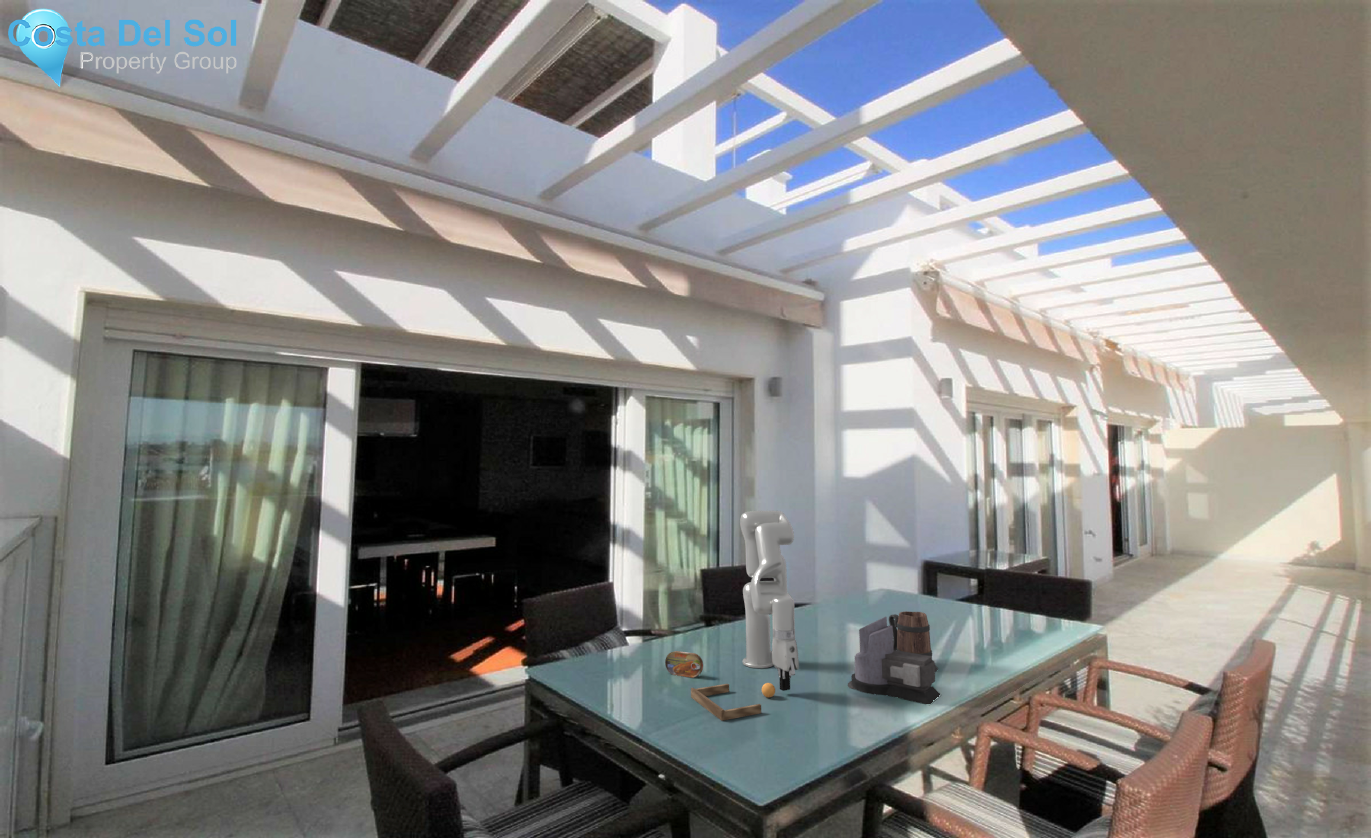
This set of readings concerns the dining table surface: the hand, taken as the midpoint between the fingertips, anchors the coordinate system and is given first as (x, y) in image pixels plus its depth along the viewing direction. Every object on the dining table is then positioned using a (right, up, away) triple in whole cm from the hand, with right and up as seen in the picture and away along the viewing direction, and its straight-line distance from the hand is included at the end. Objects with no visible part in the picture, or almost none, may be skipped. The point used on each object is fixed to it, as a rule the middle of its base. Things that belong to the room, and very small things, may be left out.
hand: (785, 689), depth 210 cm
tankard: (+53, -4, +31) cm, 62 cm away
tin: (-34, -4, +21) cm, 40 cm away
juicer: (+37, -2, +3) cm, 37 cm away
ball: (-6, +1, -3) cm, 7 cm away
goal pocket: (-21, -1, -10) cm, 23 cm away
